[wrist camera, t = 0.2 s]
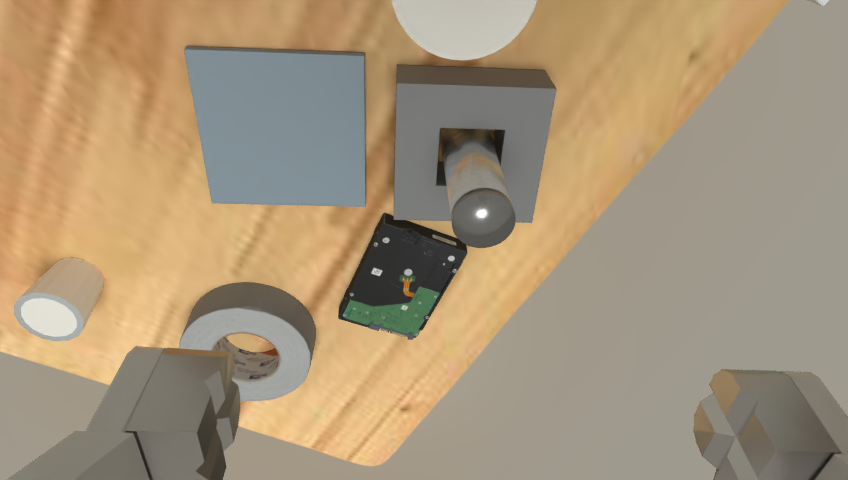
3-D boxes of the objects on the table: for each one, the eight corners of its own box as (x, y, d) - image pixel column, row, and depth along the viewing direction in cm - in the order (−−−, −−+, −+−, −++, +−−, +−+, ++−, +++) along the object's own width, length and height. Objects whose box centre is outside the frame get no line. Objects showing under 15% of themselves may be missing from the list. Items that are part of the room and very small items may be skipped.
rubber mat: (187, 46, 53) (184, 49, 52) (364, 52, 54) (364, 56, 53) (214, 198, 62) (211, 203, 61) (365, 201, 63) (365, 206, 62)
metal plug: (441, 111, 58) (454, 193, 45) (492, 113, 58) (519, 195, 45) (438, 157, 61) (449, 247, 47) (486, 158, 61) (511, 248, 48)
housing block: (396, 64, 55) (396, 83, 51) (544, 69, 56) (556, 88, 52) (393, 194, 63) (393, 219, 59) (523, 197, 64) (531, 222, 60)
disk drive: (381, 208, 65) (338, 305, 72) (381, 222, 62) (336, 320, 70) (466, 237, 67) (416, 328, 75) (469, 251, 65) (417, 343, 72)
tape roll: (214, 262, 67) (202, 290, 63) (336, 309, 72) (332, 338, 68) (175, 347, 75) (162, 378, 70) (288, 385, 79) (281, 416, 75)
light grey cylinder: (40, 249, 65) (5, 290, 59) (105, 256, 66) (77, 296, 60) (52, 297, 69) (21, 339, 63) (113, 302, 70) (88, 344, 64)
